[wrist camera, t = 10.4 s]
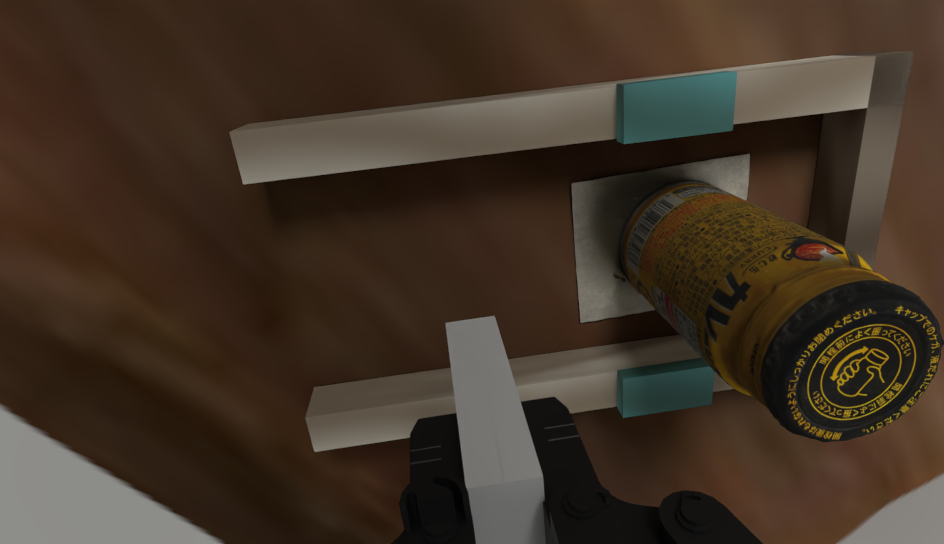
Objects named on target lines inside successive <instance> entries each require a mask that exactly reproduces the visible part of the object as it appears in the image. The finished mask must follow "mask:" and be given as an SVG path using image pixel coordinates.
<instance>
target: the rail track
mask: <svg viewBox="0 0 944 544" xmlns="http://www.w3.org/2000/svg"><path fill="white" fill-rule="evenodd" d="M913 54H914V52H859V53H850V54H842V55H833V56H824V57H816V58H807V59H799V60H790V61H782V62H773V63H765V64H756V65H747V66H739V67H730V68H722V69H713V70H705V71H696V72H688V73H679V74H670V75H662V76H653V77H645V78H636V79H628V80H619V81H610V82H602V83H593V84H585V85H576V86H568V87H559V88H551V89H542V90H533V91H525V92H516V93H508V94H499V95H491V96H482V97H474V98H465V99H456V100H448V101H439V102H431V103H422V104H414V105H405V106H396V107H388V108H379V109H371V110H362V111H354V112H345V113H337V114H328V115H319V116H311V117H302V118H294V119H285V120H277V121H268V122H260V123H251V124H246V125H244V126H242V127H239V128H237V129H235V130H232V131H230V132H229V133H230V137H231V141H232V144H233V148H234V152H235V156H236V159H237V163H238V167H239V171H240V174H241V178H242V182H243V184H252V183H260V182H268V181H276V180H284V179H292V178H300V177H309V176H317V175H325V174H333V173H341V172H349V171H357V170H366V169H374V168H382V167H390V166H398V165H406V164H414V163H423V162H431V161H439V160H447V159H455V158H463V157H471V156H480V155H488V154H496V153H504V152H512V151H520V150H528V149H537V148H545V147H553V146H561V145H569V144H577V143H585V142H594V141H602V140H610V139H617V142H620V143H622V144H630V143H638V142H646V141H654V140H662V139H670V138H678V137H686V136H695V135H703V134H711V133H719V132H727V131H733V124H740V123H748V122H756V121H765V120H773V119H781V118H789V117H797V116H805V115H813V114H822V113H824V115H823V122H822V129H821V137H820V144H819V151H818V159H817V166H816V173H815V180H814V188H813V195H812V202H811V210H810V217H809V224H808V229H809V230H811V231H813V232H815V233H817V234H820V235H822V236H824V237H826V238H828V239H830V240H832V241H834V242H837V243H839V244H841V245H843V246H845V247H847V248H849V249H850V250H852V251H854V252H856V253H857V254H858V255H860V256H861V257H862V258H863V259H864V260H865V261H866V262H867V263H868V265H869V266H870V267H871V269H872V270H873V265H874V260H875V254H876V249H877V244H878V239H879V233H880V228H881V223H882V217H883V212H884V207H885V202H886V196H887V191H888V186H889V180H890V175H891V170H892V165H893V159H894V154H895V149H896V144H897V138H898V133H899V128H900V122H901V117H902V112H903V107H904V101H905V96H906V91H907V86H908V80H909V75H910V70H911V64H912V59H913ZM508 362H509V365H510V368H511V372H512V375H513V378H514V381H515V385H516V388H517V391H518V395H519V398H520V401H521V402H522V401H528V400H535V399H541V398H548V397H556V398H557V399H558V400H559V401H560V402H561V403H563V404H564V405H565V406H566V407H567V408H568V410H569V412H570V413H577V412H583V411H590V410H597V409H603V408H610V407H617V408H618V410H619V412H620V414H621V415H622V417H623V418H627V417H634V416H640V415H647V414H653V413H660V412H666V411H673V410H680V409H686V408H693V407H699V406H706V405H712V396H713V392H716V391H723V390H729V389H734V388H732V387H731V386H729V385H728V384H727V383H726V382H725V381H724V380H723V379H722V378H721V377H719V376H718V374H717V373H716V372H714V371H713V370H712V368H711V367H710V366H709V365H708V364H707V363H706V362H705V361H704V360H703V359H702V358H701V357H700V356H699V354H698V353H697V352H696V351H694V350H693V348H692V347H691V346H690V345H688V343H687V342H686V341H685V339H684V338H683V337H682V336H680V335H673V336H666V337H659V338H652V339H645V340H638V341H631V342H624V343H617V344H610V345H603V346H596V347H589V348H583V349H576V350H569V351H562V352H555V353H548V354H541V355H534V356H527V357H520V358H513V359H508ZM453 413H456V405H455V397H454V389H453V381H452V373H451V368H444V369H437V370H430V371H423V372H416V373H409V374H402V375H395V376H388V377H381V378H374V379H367V380H360V381H353V382H347V383H340V384H333V385H326V386H319V387H314V389H313V393H312V396H311V400H310V403H309V407H308V410H307V413H306V417H305V419H306V422H307V426H308V430H309V434H310V437H311V441H312V445H313V449H314V452H318V451H324V450H331V449H338V448H344V447H351V446H358V445H364V444H371V443H378V442H384V441H391V440H397V439H404V438H410V433H411V431H412V429H413V427H414V426H415V424H416V422H417V420H418V419H420V418H427V417H433V416H440V415H446V414H453Z"/></svg>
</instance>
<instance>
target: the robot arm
mask: <svg viewBox="0 0 944 544" xmlns="http://www.w3.org/2000/svg"><path fill="white" fill-rule="evenodd" d="M445 324H446V332H447V340H448V348H449V356H450V365H451V373H452V381H453V389H454V397H455V405H456V413H453V414H446V415H440V416H433V417H427V418H420V419H418V420H417V422H416V424H415V426H414V427H413V429H412V431H411V433H410V483H409V485H408V486H407V487H406V488H405V490H404V491H403V492H402V495H401V499H400V502H399V505H400V510H401V515H402V519H403V524H404V528H405V530H404V531H403V532H402V534H401V535H400V536H399V537H398V538H397V539H396V540H395V541H394V542H392V543H391V544H763V543H762V542H761V541H760V540H759V539H758V538H757V537H756V536H754V535H753V534H752V533H751V532H750V531H749V530H748V529H747V528H746V527H745V526H744V525H743V524H742V523H741V522H740V521H739V520H738V519H737V518H736V517H735V516H734V515H733V514H732V513H731V512H730V511H729V510H728V509H727V508H726V507H725V506H724V505H723V504H721V503H720V502H719V501H717V500H716V499H714V498H713V497H711V496H708V495H706V494H703V493H701V492H695V491H686V490H685V491H680V492H675V493H672V494H670V495H669V496H667V497H666V498H664V499H663V501H662V503H661V505H660V507H651V506H642V505H635V504H631V503H626V502H624V501H621V500H619V499H617V498H615V497H614V496H612V495H611V494H610V493H609V491H608V490H606V489H605V488H603V487H602V486H601V484H600V482H599V481H598V478H597V476H596V474H595V471H594V469H593V467H592V464H591V462H590V460H589V457H588V455H587V452H586V450H585V448H584V445H583V443H582V441H581V438H580V437H579V434H578V431H577V429H576V426H575V425H574V422H573V419H572V417H571V415H570V412H569V410H568V408H567V407H566V406H565V405H564V404H563V403H561V402H560V401H559V400H558V399H557V398H556V397H548V398H541V399H535V400H528V401H522V402H521V401H520V398H519V395H518V391H517V388H516V385H515V381H514V378H513V375H512V372H511V368H510V365H509V362H508V358H507V355H506V352H505V348H504V345H503V342H502V338H501V335H500V332H499V328H498V325H497V322H496V319H495V316H489V317H483V318H476V319H469V320H462V321H455V322H448V323H445Z"/></svg>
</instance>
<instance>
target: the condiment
mask: <svg viewBox="0 0 944 544" xmlns="http://www.w3.org/2000/svg"><path fill="white" fill-rule="evenodd" d="M749 168H750V154H745V155H739V156H732V157H726V158H719V159H712V160H707V161H702V162H693V163H687V164H682V165H676V166H670V167H665V168H658V169H654V170H649V171H644V172H636V173H630V174H624V175H617V176H611V177H606V178H601V179H597V180H591V181H584V182H578V183H571V187H572V209H573V225H574V242H575V257H576V272H577V281H578V300H579V309H580V323H584V322H589V321H597V320H602V319H606V318H612V317H621V316H624V315H629V314H637V313H642V312H646V311H652V310H656V311H657V312H659V314H660V315H661V316H662V317H663V318H664V319H665V320H667V322H668V323H669V324H670V325H671V326H672V327H673V328H674V329H675V330H676V331H677V332H678V333H679V334H680V336H682V337H683V338H684V339H685V341H686V342H687V343H688V345H690V346H691V347H692V348H693V350H694V351H696V352H697V353H698V354H699V356H700V357H701V358H702V359H703V360H704V361H705V362H706V363H707V364H708V365H709V366H710V367H711V368H712V370H713V371H714V372H716V373H717V374H718V376H719V377H721V378H722V379H723V380H724V381H725V382H726V383H727V384H728V385H729V386H731V387H732V388H734V389H735V390H737V391H739V392H741V393H744V394H746V395H748V396H751V397H753V399H754V400H755V401H756V402H757V403H759V404H760V405H762V406H763V407H764V408H766V409H769V410H770V413H772V414H773V416H774V418H776V419H777V420H778V421H779V423H780V425H782V426H783V427H785V428H786V429H787V430H788V431H790V432H791V433H793V434H797V435H801V436H805V437H808V438H811V439H816V440H819V441H822V442H830V441H846V440H850V439H853V438H856V437H861V436H864V435H866V434H871V433H873V432H875V431H877V430H879V429H880V428H882V427H884V426H886V425H888V424H890V423H891V422H893V421H894V420H896V419H898V418H899V417H900V416H901V415H903V414H904V413H906V412H907V410H908V409H909V408H910V407H911V406H912V405H914V404H915V403H916V402H917V400H918V399H919V398H920V397H921V395H922V394H923V393H924V391H925V390H926V388H927V387H928V385H929V383H930V382H931V380H932V379H933V378H934V375H935V373H936V372H937V367H938V362H939V360H940V357H941V347H942V346H943V344H944V341H943V339H942V336H941V333H940V326H939V323H938V321H937V319H936V318H935V316H934V315H933V313H932V312H931V310H930V309H929V308H928V307H927V305H926V304H925V303H924V302H923V301H922V300H921V299H920V297H919V296H917V295H916V294H914V293H913V292H911V291H909V290H907V289H905V288H903V287H901V286H898V285H896V284H894V283H891V282H890V281H889V280H888V279H886V278H885V277H883V276H882V275H880V274H877V273H876V272H874V271H872V269H871V267H870V266H869V265H868V263H867V262H866V261H865V260H864V259H863V258H862V257H861V256H860V255H858V254H857V253H856V252H854V251H852V250H850V249H849V248H847V247H845V246H843V245H841V244H839V243H837V242H834V241H832V240H830V239H828V238H826V237H824V236H822V235H820V234H817V233H815V232H813V231H811V230H809V229H807V228H805V227H803V226H801V225H798V224H796V223H794V222H792V221H789V220H788V219H785V218H783V217H781V216H778V215H776V214H774V213H772V212H770V211H768V210H766V209H764V208H761V207H759V206H756V205H754V204H752V203H750V202H748V201H746V200H747V193H748V185H749ZM635 197H637V199H636V200H635V199H634V198H635ZM614 273H615V274H617V275H619V277H620V278H618V279H617V278H615V277H614V276H613V274H614ZM621 278H625V279H626V281H625V282H623V281H622V280H621Z"/></svg>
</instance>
